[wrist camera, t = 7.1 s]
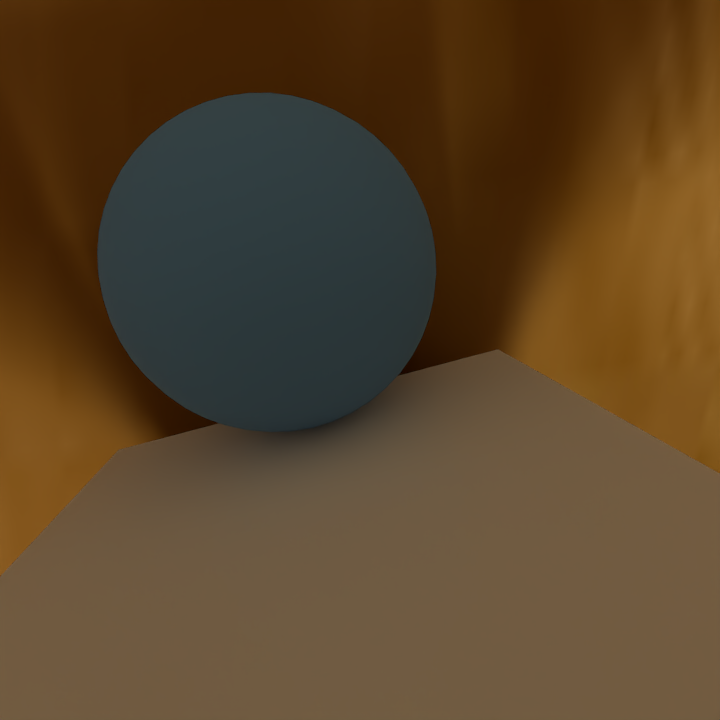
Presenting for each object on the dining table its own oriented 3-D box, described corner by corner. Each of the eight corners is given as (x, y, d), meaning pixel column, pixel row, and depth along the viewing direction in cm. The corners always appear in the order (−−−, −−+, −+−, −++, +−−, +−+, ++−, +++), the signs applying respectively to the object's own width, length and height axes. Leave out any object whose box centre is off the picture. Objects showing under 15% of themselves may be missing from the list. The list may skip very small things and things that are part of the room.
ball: (436, 220, 10) (541, 76, 5) (371, 436, 10) (405, 527, 5) (216, 149, 9) (74, -82, 4) (150, 372, 9) (-68, 394, 4)
